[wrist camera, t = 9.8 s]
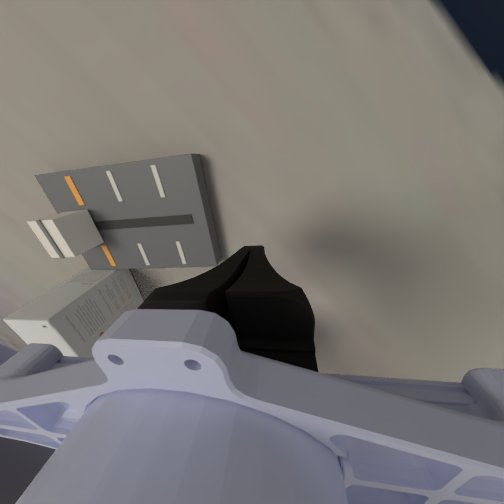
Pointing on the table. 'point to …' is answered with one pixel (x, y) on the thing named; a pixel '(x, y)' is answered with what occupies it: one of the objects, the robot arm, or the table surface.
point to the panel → (142, 212)
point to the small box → (77, 310)
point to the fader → (67, 233)
